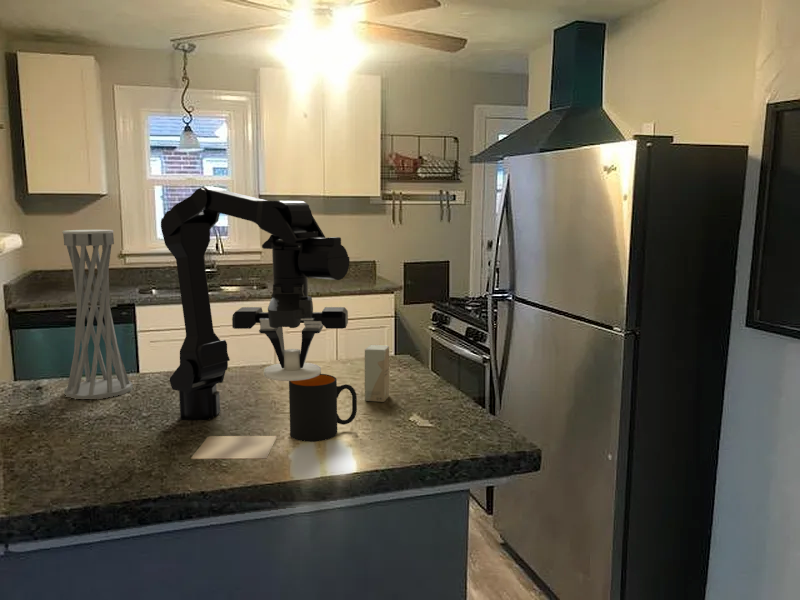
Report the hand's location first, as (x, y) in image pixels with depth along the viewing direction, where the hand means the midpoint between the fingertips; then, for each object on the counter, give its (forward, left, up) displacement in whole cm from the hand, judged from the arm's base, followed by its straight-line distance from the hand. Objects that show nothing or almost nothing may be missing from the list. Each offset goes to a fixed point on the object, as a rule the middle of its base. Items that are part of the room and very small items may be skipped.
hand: (292, 367), depth 111 cm
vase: (-47, +31, -13) cm, 58 cm away
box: (+14, +25, -13) cm, 31 cm away
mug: (+5, +3, -13) cm, 14 cm away
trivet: (-9, -4, -13) cm, 16 cm away
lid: (0, 0, -1) cm, 1 cm away
